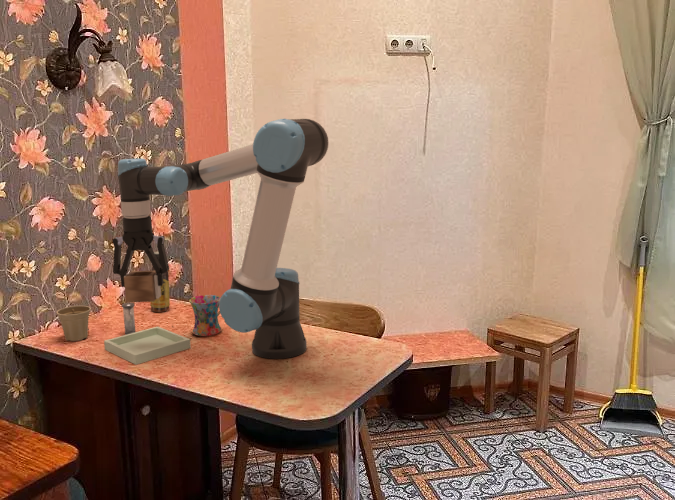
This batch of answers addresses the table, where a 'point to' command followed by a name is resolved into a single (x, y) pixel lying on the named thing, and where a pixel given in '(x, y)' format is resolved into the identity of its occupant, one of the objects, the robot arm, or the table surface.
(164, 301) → the sauce bottle
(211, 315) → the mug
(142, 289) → the collar
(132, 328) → the grey salt shaker
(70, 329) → the flower pot
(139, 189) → the robot arm
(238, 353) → the table surface
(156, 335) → the tray
